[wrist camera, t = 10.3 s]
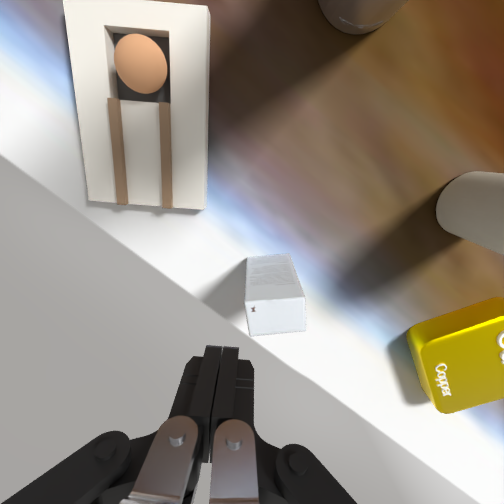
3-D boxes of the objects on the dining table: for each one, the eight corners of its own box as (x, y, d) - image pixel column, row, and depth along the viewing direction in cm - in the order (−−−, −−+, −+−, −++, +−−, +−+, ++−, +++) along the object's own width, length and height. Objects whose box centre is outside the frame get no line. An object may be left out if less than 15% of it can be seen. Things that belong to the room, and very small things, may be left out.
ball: (111, 43, 24) (113, 97, 28) (171, 60, 26) (165, 108, 30) (113, 15, 26) (116, 69, 30) (168, 32, 28) (164, 81, 32)
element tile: (401, 326, 42) (419, 348, 37) (505, 291, 39) (537, 309, 35) (423, 394, 46) (441, 421, 42) (516, 366, 44) (546, 391, 40)
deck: (75, 3, 28) (56, -12, 26) (210, 15, 28) (205, 1, 26) (97, 198, 35) (85, 201, 32) (206, 206, 35) (202, 211, 33)
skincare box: (250, 284, 39) (247, 337, 28) (246, 256, 38) (242, 301, 26) (292, 280, 39) (307, 332, 28) (290, 252, 37) (305, 295, 26)
